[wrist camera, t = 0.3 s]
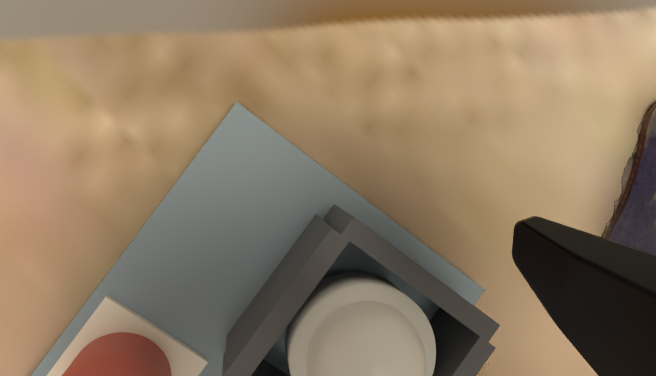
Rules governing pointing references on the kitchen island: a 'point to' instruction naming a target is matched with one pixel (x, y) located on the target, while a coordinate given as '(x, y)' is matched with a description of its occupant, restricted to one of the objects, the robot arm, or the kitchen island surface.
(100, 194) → the kitchen island surface
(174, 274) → the board
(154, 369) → the pawn
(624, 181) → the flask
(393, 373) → the dome
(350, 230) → the button housing
